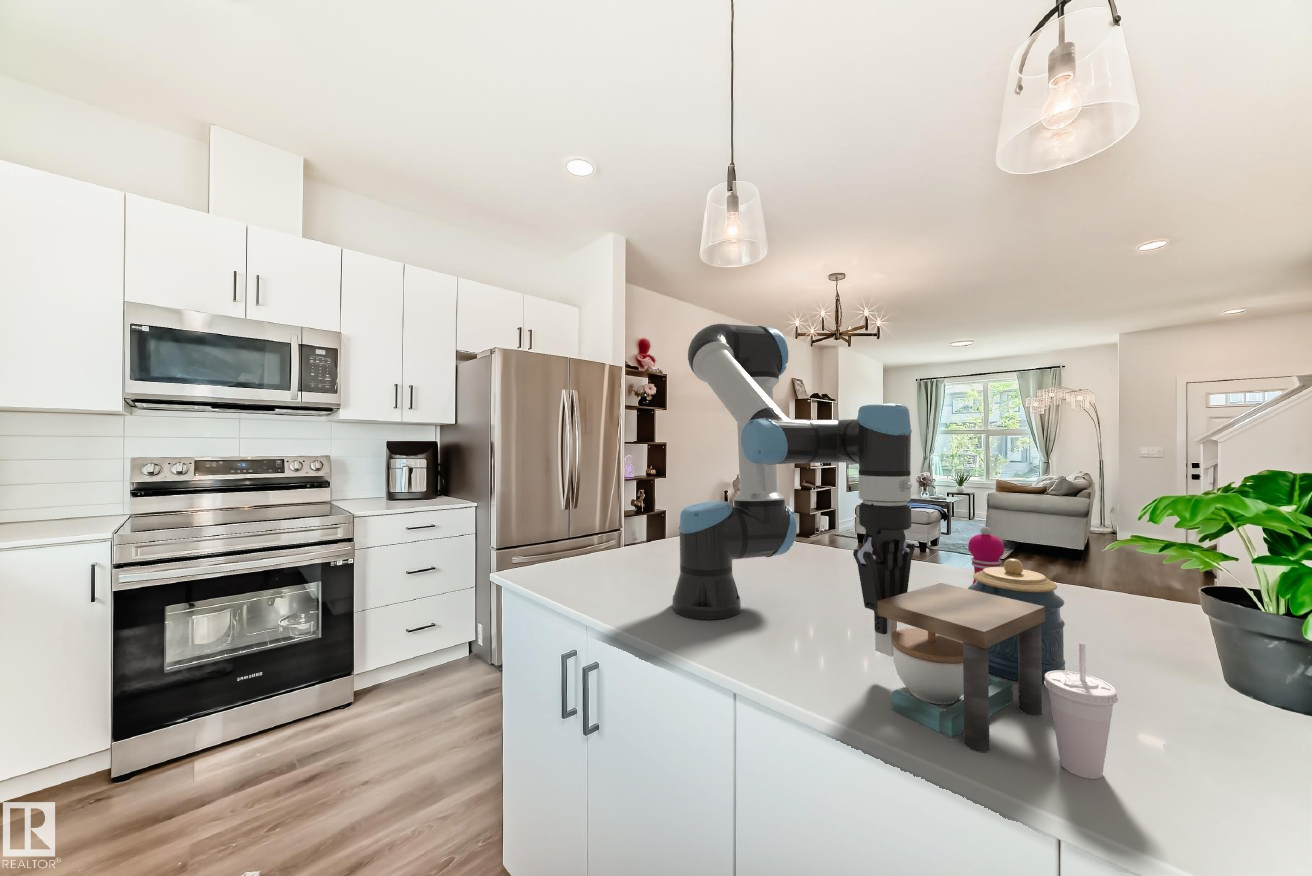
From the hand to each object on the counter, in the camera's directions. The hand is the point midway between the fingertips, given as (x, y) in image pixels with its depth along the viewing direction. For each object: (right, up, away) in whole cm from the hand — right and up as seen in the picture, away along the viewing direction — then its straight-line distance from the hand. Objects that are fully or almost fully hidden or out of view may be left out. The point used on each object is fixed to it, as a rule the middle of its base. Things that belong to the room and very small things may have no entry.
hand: (886, 652), depth 80 cm
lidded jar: (+4, -4, -5) cm, 8 cm away
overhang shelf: (+6, -4, -9) cm, 12 cm away
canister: (+23, -4, +3) cm, 23 cm away
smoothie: (+12, -4, -22) cm, 26 cm away
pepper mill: (+29, -4, +21) cm, 36 cm away
